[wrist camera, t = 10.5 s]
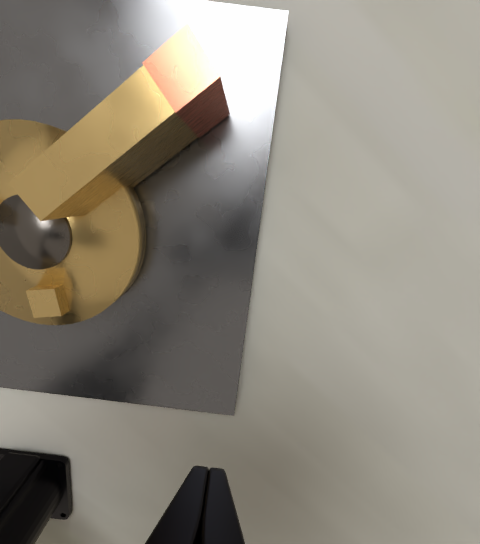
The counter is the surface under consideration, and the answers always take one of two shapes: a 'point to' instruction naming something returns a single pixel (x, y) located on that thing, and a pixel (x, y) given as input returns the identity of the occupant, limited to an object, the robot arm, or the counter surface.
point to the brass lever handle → (96, 185)
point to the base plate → (152, 199)
